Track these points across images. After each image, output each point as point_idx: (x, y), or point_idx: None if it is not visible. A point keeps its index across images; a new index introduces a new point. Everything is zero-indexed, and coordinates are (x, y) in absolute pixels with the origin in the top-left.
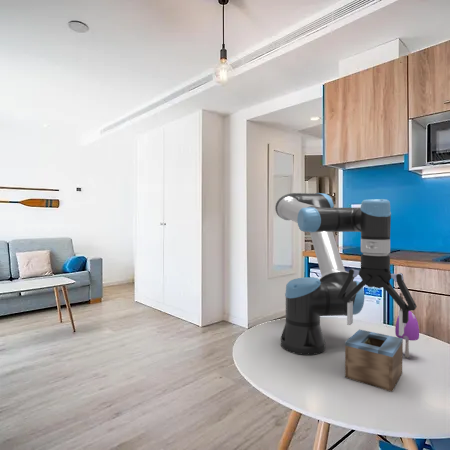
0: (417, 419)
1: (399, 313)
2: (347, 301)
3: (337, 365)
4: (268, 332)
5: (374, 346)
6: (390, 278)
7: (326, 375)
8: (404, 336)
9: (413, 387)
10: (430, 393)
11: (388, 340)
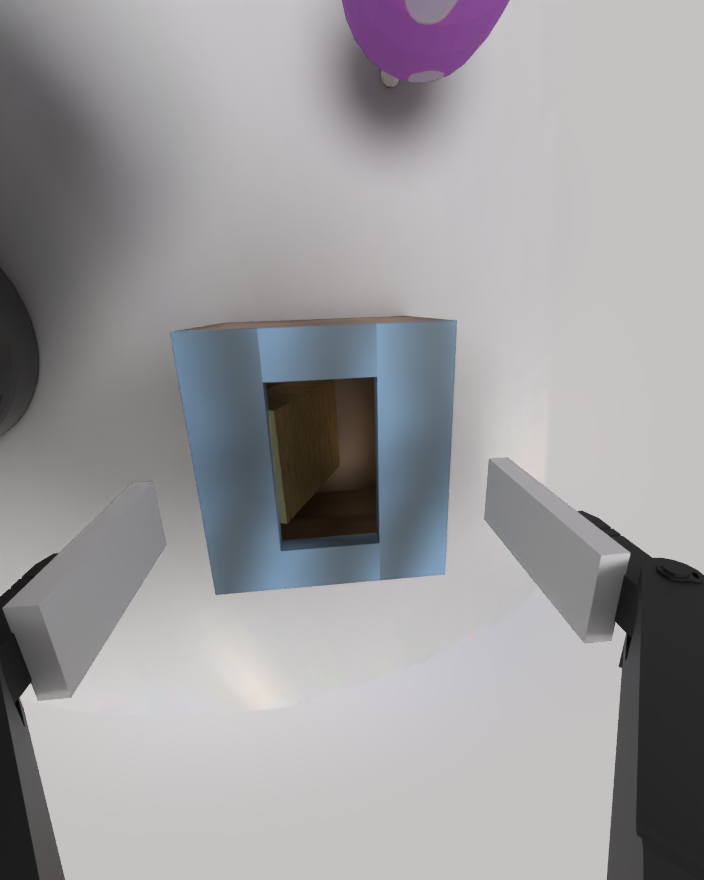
0: (482, 580)
1: (574, 627)
2: (21, 704)
3: (174, 430)
4: None
5: (354, 552)
6: None
7: (189, 532)
8: (419, 74)
9: (457, 414)
10: (507, 419)
11: (392, 418)
